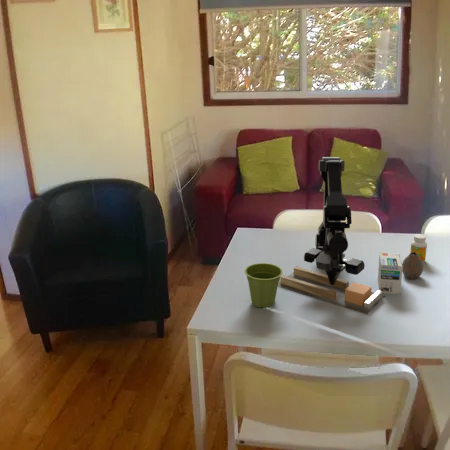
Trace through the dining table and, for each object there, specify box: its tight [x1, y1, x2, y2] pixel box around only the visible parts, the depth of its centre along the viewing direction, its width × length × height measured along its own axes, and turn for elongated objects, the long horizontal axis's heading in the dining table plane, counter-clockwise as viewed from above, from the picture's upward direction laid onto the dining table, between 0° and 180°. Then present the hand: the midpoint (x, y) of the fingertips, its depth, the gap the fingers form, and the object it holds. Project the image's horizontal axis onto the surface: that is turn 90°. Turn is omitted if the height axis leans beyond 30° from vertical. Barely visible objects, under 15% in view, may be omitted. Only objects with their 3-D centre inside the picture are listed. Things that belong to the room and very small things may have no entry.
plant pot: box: [244, 262, 283, 309], centre depth 169 cm, size 12×12×11 cm
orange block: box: [345, 281, 372, 306], centre depth 169 cm, size 6×6×4 cm
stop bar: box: [364, 289, 383, 311], centre depth 166 cm, size 10×2×2 cm, turn 142°
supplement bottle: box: [409, 233, 428, 263], centre depth 196 cm, size 5×5×10 cm
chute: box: [278, 266, 386, 315], centre depth 175 cm, size 14×33×3 cm, turn 52°
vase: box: [401, 252, 424, 280], centre depth 184 cm, size 7×7×9 cm
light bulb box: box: [377, 252, 403, 295], centre depth 176 cm, size 11×7×11 cm, turn 168°
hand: (332, 284), depth 174 cm, fingers closed
